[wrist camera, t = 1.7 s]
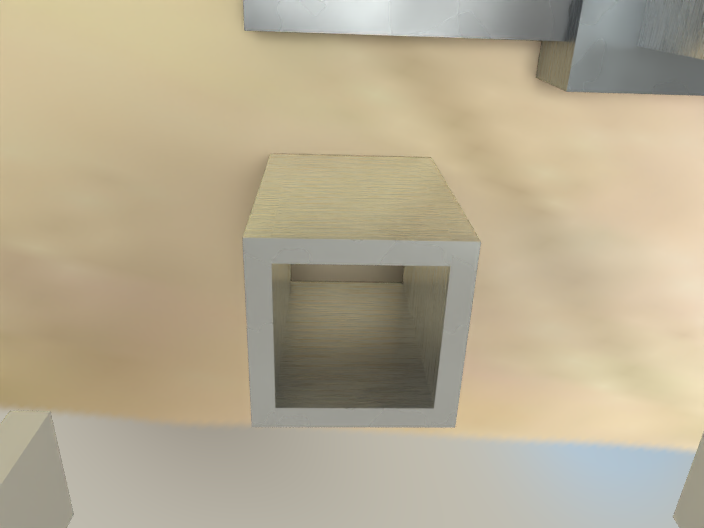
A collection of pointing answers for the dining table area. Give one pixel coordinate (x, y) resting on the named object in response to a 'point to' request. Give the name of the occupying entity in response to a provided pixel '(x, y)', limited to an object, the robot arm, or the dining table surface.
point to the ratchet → (531, 34)
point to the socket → (357, 294)
